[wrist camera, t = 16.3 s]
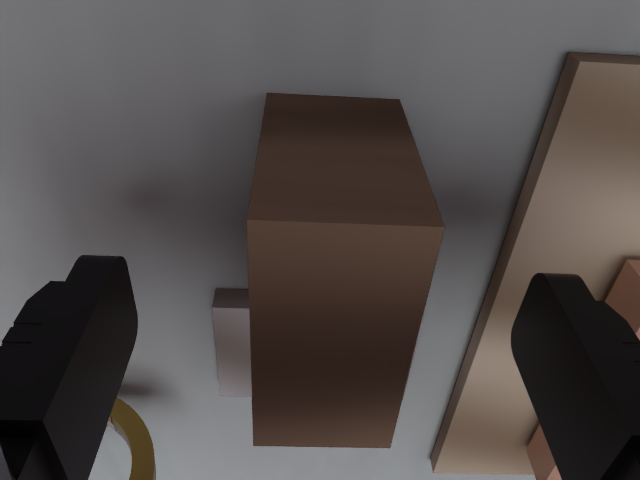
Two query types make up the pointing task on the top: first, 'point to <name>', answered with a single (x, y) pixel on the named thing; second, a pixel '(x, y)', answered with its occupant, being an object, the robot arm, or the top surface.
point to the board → (550, 253)
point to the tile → (636, 307)
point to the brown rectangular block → (330, 273)
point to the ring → (134, 440)
